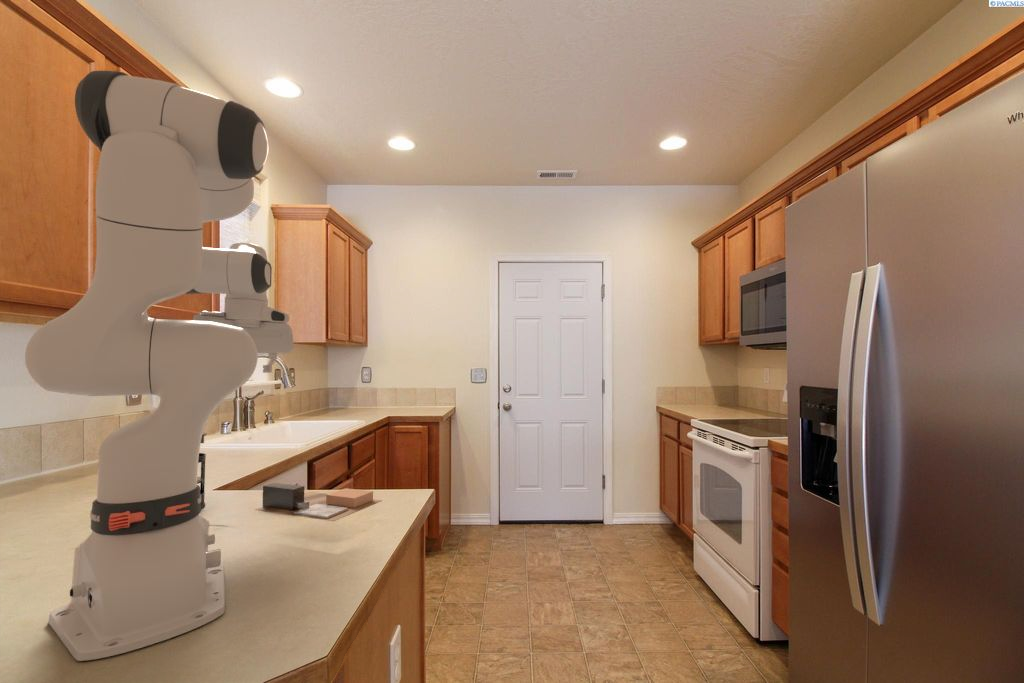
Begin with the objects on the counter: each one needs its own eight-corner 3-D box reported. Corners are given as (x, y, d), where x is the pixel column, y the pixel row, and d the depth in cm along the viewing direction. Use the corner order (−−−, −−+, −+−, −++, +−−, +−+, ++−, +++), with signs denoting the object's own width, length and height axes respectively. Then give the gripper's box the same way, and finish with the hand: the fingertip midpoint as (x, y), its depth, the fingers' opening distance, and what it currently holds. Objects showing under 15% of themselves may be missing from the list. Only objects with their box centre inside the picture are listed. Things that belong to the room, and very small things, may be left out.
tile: (345, 497, 106) (372, 500, 103) (326, 504, 100) (354, 508, 97) (345, 488, 106) (373, 491, 103) (326, 494, 100) (354, 498, 97)
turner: (348, 510, 96) (348, 488, 96) (327, 518, 90) (327, 496, 91) (279, 501, 103) (280, 481, 104) (256, 508, 98) (256, 487, 98)
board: (382, 507, 103) (382, 500, 103) (333, 528, 89) (333, 521, 89) (309, 498, 111) (309, 491, 111) (254, 516, 97) (254, 509, 97)
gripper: (195, 308, 96) (193, 373, 95) (296, 315, 110) (295, 372, 109) (190, 311, 100) (188, 373, 99) (287, 318, 115) (286, 372, 114)
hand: (245, 372), depth 104 cm, fingers open, 8 cm apart
